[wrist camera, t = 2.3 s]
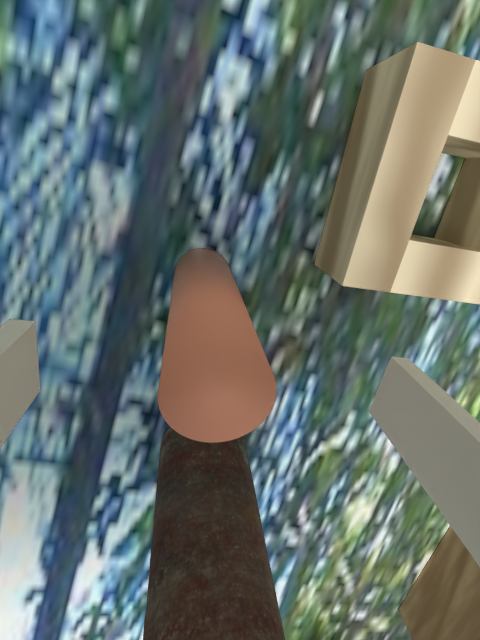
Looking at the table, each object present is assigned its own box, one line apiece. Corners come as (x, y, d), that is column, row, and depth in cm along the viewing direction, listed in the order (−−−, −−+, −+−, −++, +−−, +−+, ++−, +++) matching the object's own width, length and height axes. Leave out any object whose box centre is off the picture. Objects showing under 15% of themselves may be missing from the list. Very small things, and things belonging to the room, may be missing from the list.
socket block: (314, 264, 25) (342, 285, 20) (366, 70, 20) (417, 41, 16) (452, 284, 27) (505, 307, 23) (527, 114, 22) (612, 101, 18)
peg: (171, 298, 24) (153, 440, 12) (177, 244, 23) (163, 339, 10) (225, 305, 25) (263, 444, 12) (234, 252, 24) (288, 350, 11)
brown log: (182, 393, 28) (171, 810, 10) (258, 418, 30) (363, 794, 12) (148, 458, 30) (88, 889, 12) (221, 476, 32) (261, 865, 14)
